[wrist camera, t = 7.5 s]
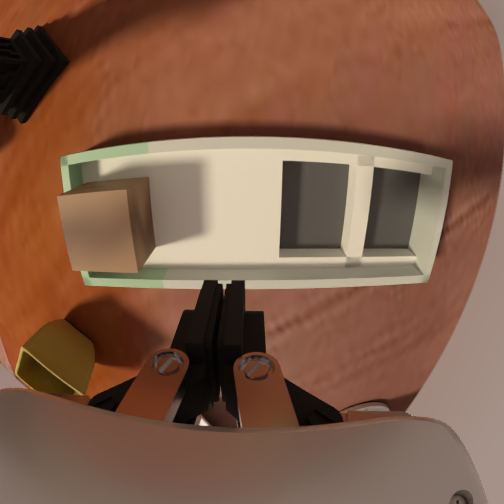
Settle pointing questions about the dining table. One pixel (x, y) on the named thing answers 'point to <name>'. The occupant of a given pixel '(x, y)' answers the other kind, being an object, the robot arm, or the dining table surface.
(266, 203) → the tray
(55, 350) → the flower pot
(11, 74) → the chess piece
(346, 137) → the dining table surface
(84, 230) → the walnut block
